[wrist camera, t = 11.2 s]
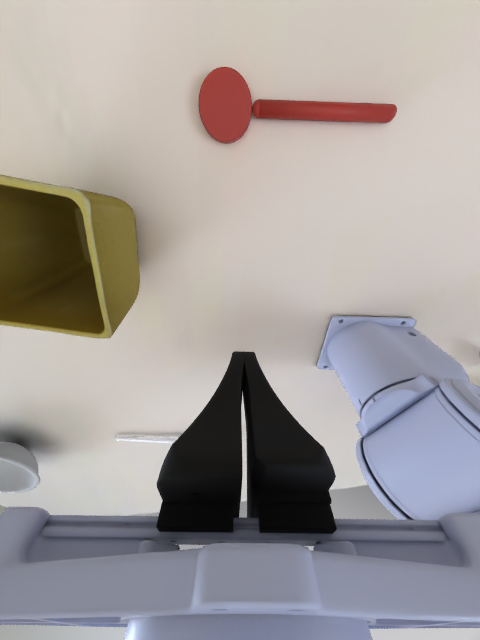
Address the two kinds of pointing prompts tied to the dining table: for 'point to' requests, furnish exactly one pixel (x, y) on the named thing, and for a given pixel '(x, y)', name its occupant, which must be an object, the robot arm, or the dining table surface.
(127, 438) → the white fork
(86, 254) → the flower pot
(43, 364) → the dining table surface
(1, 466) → the dish
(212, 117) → the red spoon
